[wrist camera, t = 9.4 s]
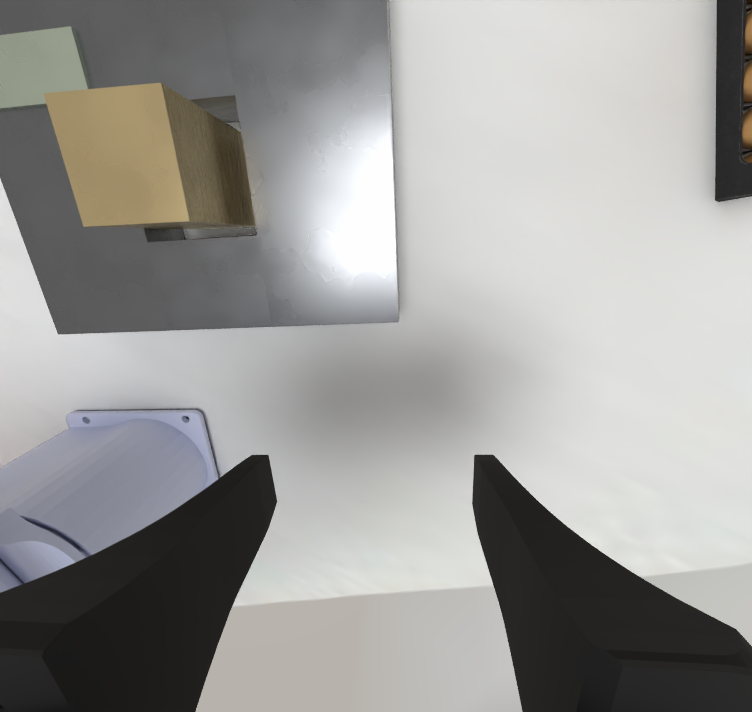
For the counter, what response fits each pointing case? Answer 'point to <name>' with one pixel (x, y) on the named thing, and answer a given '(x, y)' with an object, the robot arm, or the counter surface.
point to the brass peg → (150, 159)
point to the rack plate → (261, 148)
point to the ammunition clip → (733, 100)
